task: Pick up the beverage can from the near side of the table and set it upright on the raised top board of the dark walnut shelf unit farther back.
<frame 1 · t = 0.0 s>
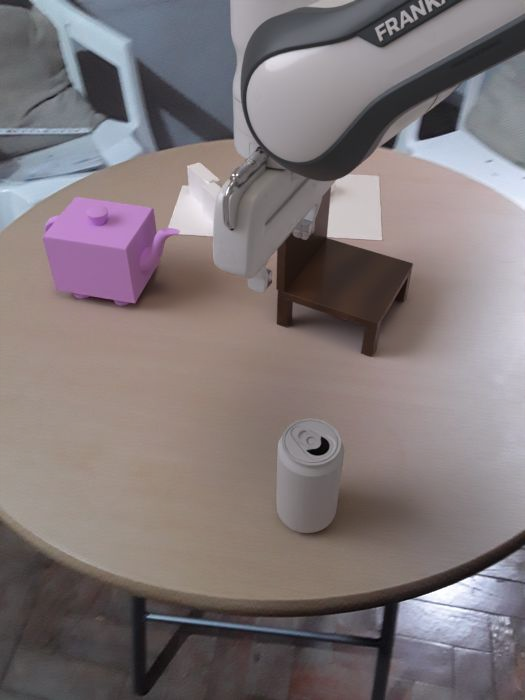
hand: (282, 259, 66), 23 cm above the table, tool pointing down, fingers open, 8 cm apart
napkin holder: (207, 211, 114), on the table
beverage can: (305, 511, 73), on the table
teapot: (121, 286, 100), on the table
teacup and saucer: (321, 203, 116), on the table
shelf: (343, 310, 96), on the table
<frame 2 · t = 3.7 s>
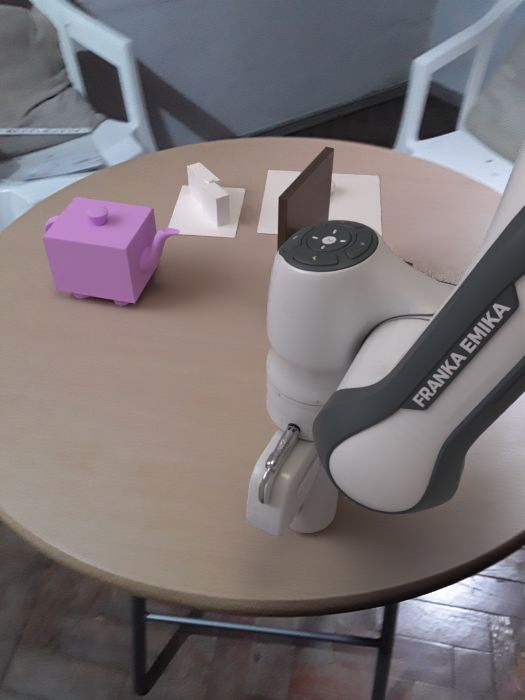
hand: (308, 481, 69), 5 cm above the table, tool pointing down, fingers closed on beverage can, 6 cm apart
beverage can: (305, 511, 73), on the table, touching gripper
everything else where it was.
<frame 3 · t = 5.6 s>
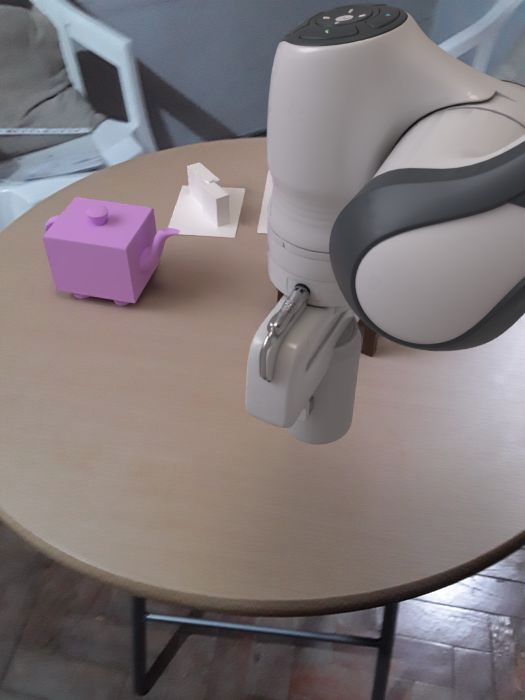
hand: (319, 382, 58), 20 cm above the table, tool pointing down, fingers closed on beverage can, 6 cm apart
beverage can: (316, 423, 62), point 15 cm above the table, touching gripper
everything else where it was.
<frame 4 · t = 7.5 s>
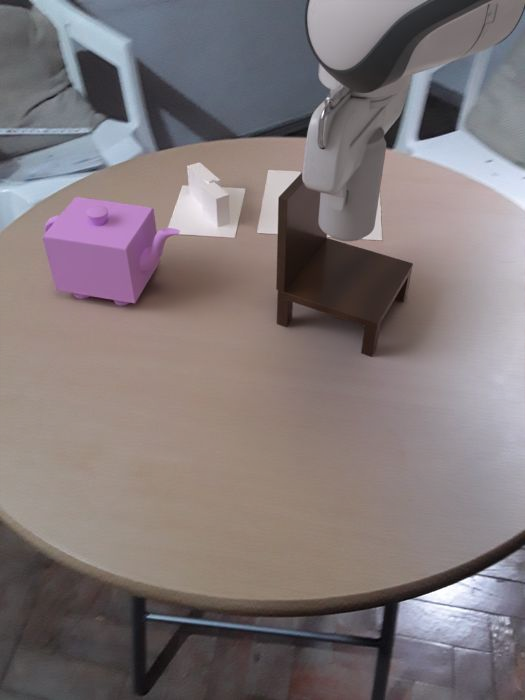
hand: (350, 188, 74), 24 cm above the table, tool pointing down, fingers closed on beverage can, 6 cm apart
beverage can: (345, 230, 78), point 18 cm above the table, touching gripper
everything else where it was.
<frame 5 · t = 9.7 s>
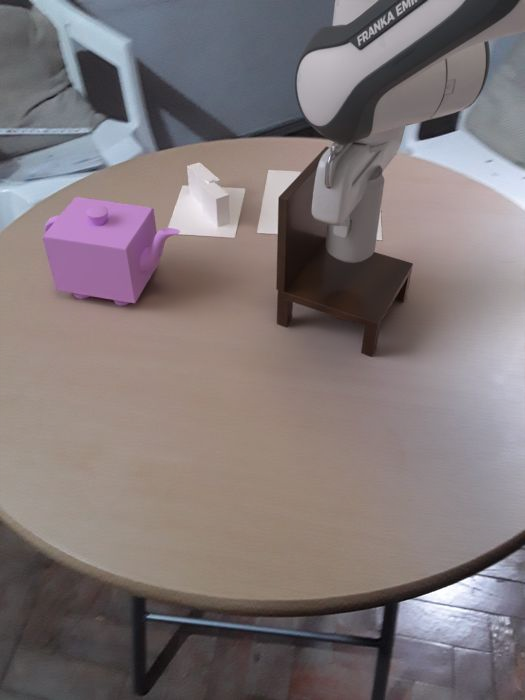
hand: (353, 217, 85), 15 cm above the table, tool pointing down, fingers closed on beverage can, 6 cm apart
beverage can: (349, 252, 89), point 10 cm above the table, touching gripper
everything else where it was.
when the fingers open (11 cm above the table, at t = 11.4 s): beverage can stays where it is, resting on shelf.
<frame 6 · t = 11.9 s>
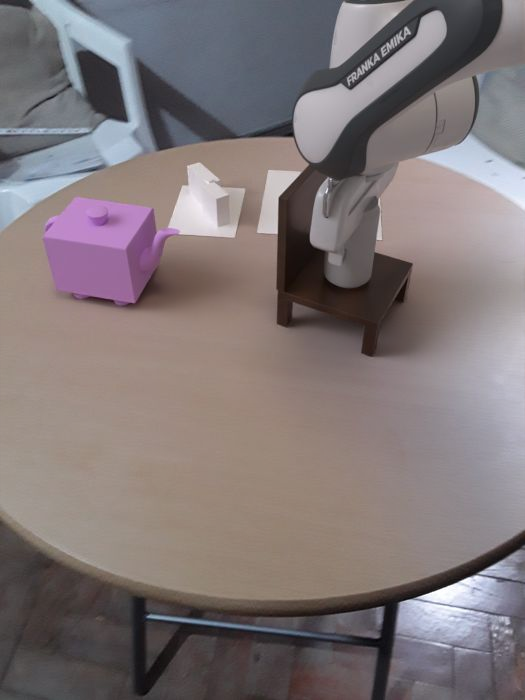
hand: (351, 242, 88), 12 cm above the table, tool pointing down, fingers open, 8 cm apart
beverage can: (346, 277, 92), point 6 cm above the table, touching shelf
everything else where it was.
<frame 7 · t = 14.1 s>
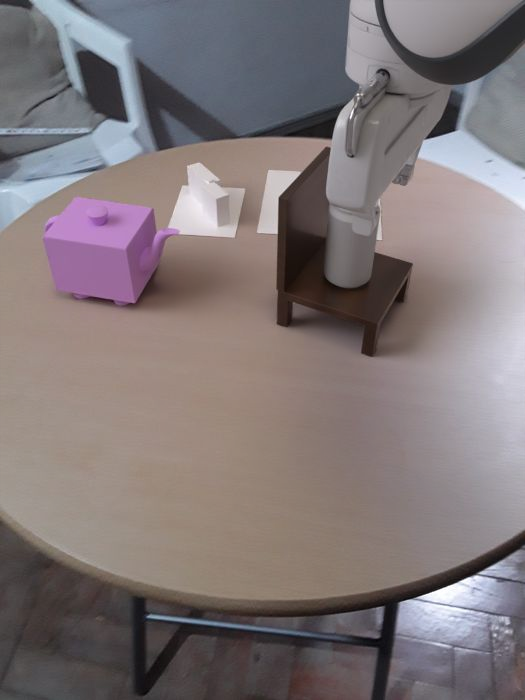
hand: (383, 204, 62), 29 cm above the table, tool pointing down, fingers open, 8 cm apart
nothing on the table moved.
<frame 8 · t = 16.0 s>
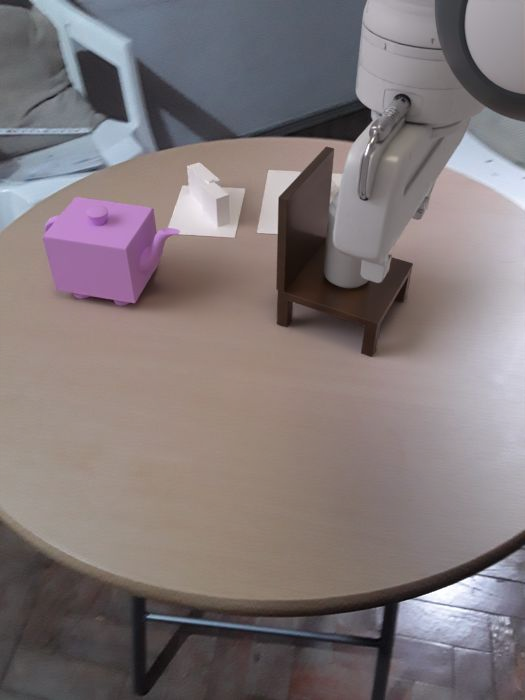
hand: (395, 243, 54), 31 cm above the table, tool pointing down, fingers open, 8 cm apart
nothing on the table moved.
at the end: beverage can inside the target area on the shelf (0.1 cm from its centre), point 5.8 cm above the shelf's base; beverage can tilted 0° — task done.
